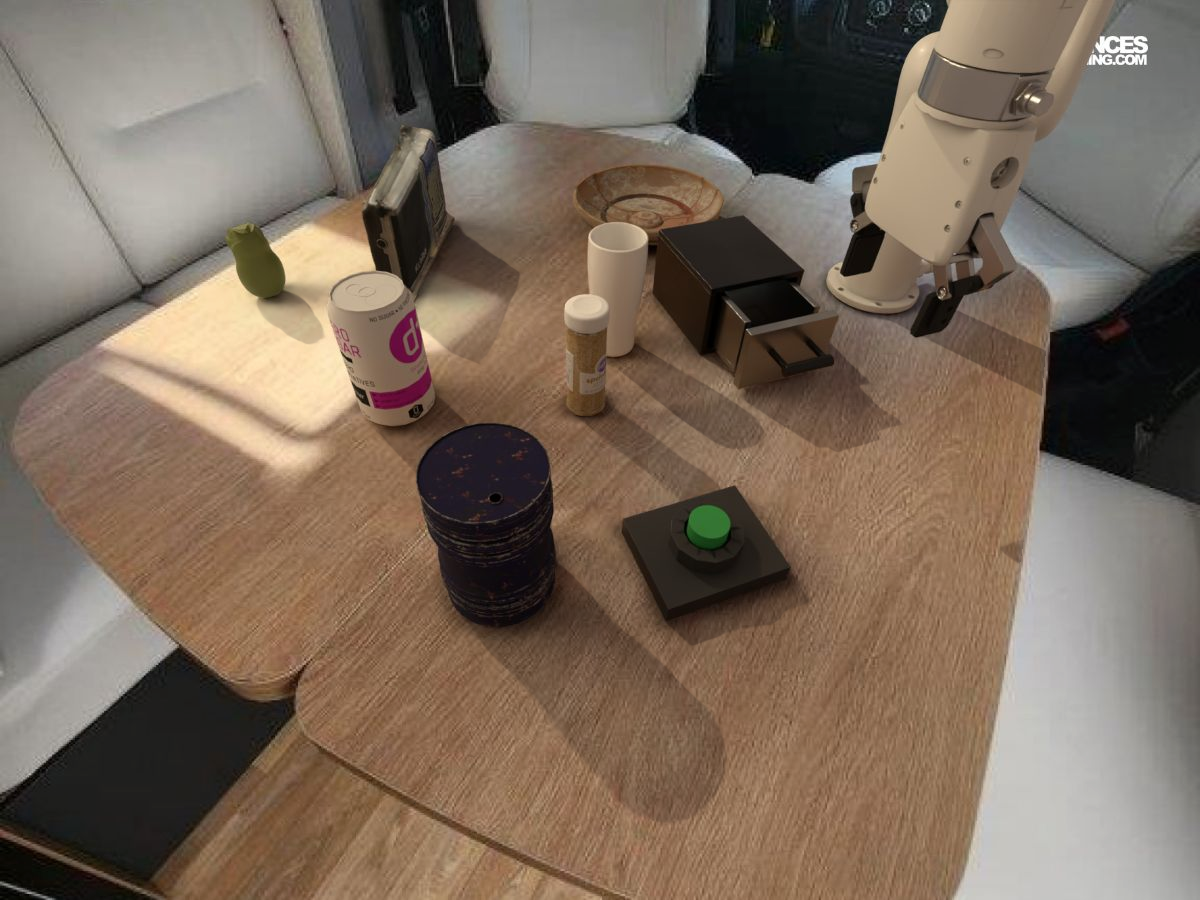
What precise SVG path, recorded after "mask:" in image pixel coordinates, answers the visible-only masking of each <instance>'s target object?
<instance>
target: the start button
mask: <svg viewBox="0 0 1200 900" xmlns="http://www.w3.org/2000/svg"><path fill="white" fill-rule="evenodd" d="M730 525H731V524H730V519H729V517H728V515H727V514H726V513H725V512H724V511H723V510H721V509H720V508H718V507H715V506H710V505H704V506H700V507H697V508H696V509H694V510H693V511H692V512H691V514H690V517H689V521H688V526H687V535H688V538H689V539H690V541H691V542H692V543H693V544H694V545H695V546H697V547H699V548H702V549H706V550H713V549H717V548H719V547H721V546H722V545H723V544H724V543H725V542H726V540H727V536H728V533H729V530H730Z"/></svg>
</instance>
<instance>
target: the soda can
mask: <svg viewBox="0 0 1200 900" xmlns="http://www.w3.org/2000/svg"><path fill="white" fill-rule="evenodd" d="M326 312H327V318H328V320H329V323H330V327H331V330H332V332H333V334H334V338H335V340H336V343H337V346H338V349H339V352H340V354H341V357H342V360H343V363H344V366H345V368H346V372H347V374H348V377H349V381H350V383H351V386H352V388H353V391H354V394H355V397H356V400H357V403H358V405H359V406H358V407H359V408H360V411H361V413H362V414H363V416H364V418H366V419H367V420H368V421H371V422H373V423H375V424H377V425H382V426H388V427H398V426H405V425H408V424H411V423H414V422H417V421H418V420H419V419H421V418H422V417H424V416H425V414H427V413H428V412H429V410H430V409H432V407H433V406H434V403H435V399H436V392H435V388H434V384H433V379H432V375H431V370H430V366H429V361H428V357H427V352H426V347H425V344H424V343H425V342H424V339H423V335H422V330H421V326H420V321H419V315H418V313H417V308H416V304H415V300H414V299H413V296H412V293H411V291H410V290H409V289H408V288H407V287H406V286H405V285H404V284H403V282H402V280H401V279H400V278H399V277H397V276H396V275H394V274H391V273H388V272H382V271H376V270H366V271H360V272H355V273H352V274H349V275H347V276H345V277H343V278H341V279H339V280H338V281H337V282H335V283H334V284H333V285H332V286H331V288H330V290H329V292H328V301H327V305H326Z"/></svg>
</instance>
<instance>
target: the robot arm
mask: <svg viewBox="0 0 1200 900" xmlns="http://www.w3.org/2000/svg"><path fill="white" fill-rule="evenodd" d="M1115 2H1116V0H946V5H947V11H946V13H945V16H944V19H943V21H942V24H941V27H940V30H939V31H935V32H932V33H929V34H927V35H926V36H923V37H922V38H921V39H919V40H918V41H917V42H916V43H915V44H914V45H913V47H912V48H911V49H910V51H909V52H908V54H907V56H906V58H905V60H904V63H903V65H902V68H901V72H900V75H899V79H898V84H897V89H896V94H895V99H894V105H893V108H892V109H893V110H892V114H891V118H890V122H889V126H888V131H887V135H886V137H885V140H884V143H883V147H882V149H881V153H880V156H879V159H878V162H877V163H875V164H868V165H861V166H856V167H854V168H853V169H852V171H851V192H852V195H851V196H850V199H849V203H850V209H851V214H852V219H851V220H850V223H849V230H850V231H851V233H853V234H852V235H851V238H850V242H849V244H848V247H847V249H846V252H845V255H844V258H843V261H840V262H839V263H836V264H834V265H833V266H831V268H830V269H829V271H828V273H827V276H826V286H827V289H828V290H829V291H830V293H831V294H832V296H834V297H835V298H836V299H838V300H839V301H840V302H842V303H844V304H846V305H848V306H849V307H852V308H854V309H857V310H861V311H864V312H867V313H868V312H869V313H873V314H883V315H884V314H885V315H887V314H898V313H902V312H904V311H907V310H909V309H911V308H913V306H915V304H916V302H917V301H918V298H919V296H920V288H919V286H918V284H917V281H918V279H920V278H921V277H923V276H924V275H929V274H933V280H934V287H935V291H932V292H931V291H930V292H928V293H927V294H926V295H925V297H924V300H923V301H922V304H921V305H920V308H919V310H918V312H917V314H916V317H915V319H914V321H913V322H912V325H911V327H910V329H909V334H910V335H911V336H912V337H914V338H915V339H917V338H922V337H926V336H930V335H932V334H938V333H941V332H943V331H944V330H945V329H947V327H949V325H950V323H951V321H952V319H953V317H954V316H955V313H956V311H958V308H959V306H960V304H961V302H962V300H963V298H964V296H968V295H972V294H975V293H979V292H983V291H987V290H990V289H992V288H993V287H994V286H995V284H997V283H999V282H1001V281H1002V280H1004V279H1005V278H1006V277H1008V276H1009V275H1011V274H1012V273H1013V272H1015V271H1016V269H1017V267H1018V266H1017V261H1016V259H1015V257H1014V255H1013V253H1012V251H1011V250H1010V248H1009V246H1008V244H1007V242H1006V240H1005V238H1004V236H1003V235H1002V232H1001V231H1002V230H1001V229H1002V228H1003V226H1004V223H1005V222H1006V219H1007V217H1008V215H1009V212H1010V211H1011V209H1012V206H1013V203H1014V201H1015V199H1016V196H1017V195H1018V191H1019V188H1020V186H1021V183H1022V181H1023V178H1024V175H1025V173H1026V171H1027V167H1028V165H1029V161H1030V158H1031V154H1032V152H1033V148H1034V145H1035V143H1037V142H1040V141H1042V140H1043V139H1045V138H1047V137H1048V136H1049V135H1050V134H1052V133H1053V131H1054V130H1055V129H1056V127H1058V125H1059V123H1060V121H1061V120H1062V118H1063V117H1064V115H1065V113H1066V111H1067V110H1068V108H1069V106H1070V104H1071V102H1072V100H1073V97H1074V95H1075V92H1076V91H1077V88H1078V87H1079V84H1080V81H1081V80H1082V77H1083V75H1084V72H1085V70H1086V68H1087V65H1088V63H1089V62H1090V59H1091V57H1092V54H1093V52H1094V50H1095V48H1096V45H1097V43H1098V40H1099V38H1100V36H1101V34H1102V32H1103V29H1104V27H1105V24H1106V22H1107V20H1108V18H1109V16H1110V13H1111V11H1112V8H1113V6H1114V4H1115ZM974 259H982V266H981V268H980V269H978V270H977V272H976V271H975V270H976V269H975V260H974ZM952 264H955V271H956V279H955V280H953V270H952Z"/></svg>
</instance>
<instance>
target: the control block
mask: <svg viewBox="0 0 1200 900" xmlns="http://www.w3.org/2000/svg"><path fill="white" fill-rule="evenodd" d="M704 505H710V506H715V507H718V508H720V509H721V510H723V511H724V512H725V513H726V514H727V515H728V517H729V519H730V524H731V525H730V530H729V533H728V536H727V540H726V542H725V543H724V544H723V545H722V546H721V547H719V548H717V549H713V550H706V549H702V548H699V547H697V546H695V545H694V544H693V543H692V542H691V541H690V539H689V538H688V535H687V526H688V521H689V517H690V514H691V512H692V511H693V510H694V509H696V508H697V507H700V506H704ZM621 535H622V536H623V538H624V541H625V542H626V545H627V546H628V549H629V551H630V552H631V555H632V557H633V559H634V561H635V563H636V565H637V567H638V569H639V572H640V573H641V575H642V577H643V579H644V581H645V583H646V585H647V587H648V589H649V591H650V594H651V595H652V597H653V599H654V601H655V603H656V605H657V608H658V610H659V612H660V613H661V616H662V618H663V619H664V621H665V622H666V623H668V622H670V621H673V620H676V619H679V618H682V617H684V616H687V615H691V614H692V613H695V612H698V611H701V610H704V609H707V608H710V607H712V606H716V605H718V604H721V603H724V602H727V601H729V600H732V599H735V598H738V597H741V596H744V595H746V594H750V593H752V592H756V591H758V590H760V589H764V588H766V587H769V586H772V585H775V584H778V583H781V582H783V581H785V580H786V579H787V577H788V574H789V572H790V570H791V568H792V567H791V565H790V564H789V562H788V561H787V559H786V558H785V556H784V555H783V553H782V552H781V550H780V549H779V547H778V546H777V545H776V543H775V541H774V540H773V538H772V536H770V534H769V533H768V531H767V529H766V528H765V527H764V526H763V524H762V523H761V521H760V520H759V518H758V517H757V515H756V514H755V512H754V510H753V509H752V508H751V507H750V505H749V503H748V502H747V501H746V499H745V497H744V496H743V495H742V493H741V492H740V490H739V489H738V487H737V486H736V485H735V484H734V485H731V486H727V487H724V488H721V489H717V490H714V491H710V492H707V493H704V494H701V495H698V496H697V495H696V496H693V497H691V498H687V499H684V500H680V501H676V502H674V503H670V504H667V505H664V506H661V507H658V508H653V509H651V510H647V511H644V512H641V513H637V514H634V515H630V516H627V517H624V518H622V521H621Z"/></svg>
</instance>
